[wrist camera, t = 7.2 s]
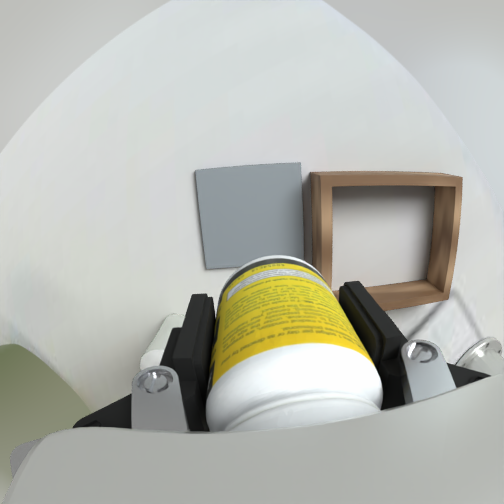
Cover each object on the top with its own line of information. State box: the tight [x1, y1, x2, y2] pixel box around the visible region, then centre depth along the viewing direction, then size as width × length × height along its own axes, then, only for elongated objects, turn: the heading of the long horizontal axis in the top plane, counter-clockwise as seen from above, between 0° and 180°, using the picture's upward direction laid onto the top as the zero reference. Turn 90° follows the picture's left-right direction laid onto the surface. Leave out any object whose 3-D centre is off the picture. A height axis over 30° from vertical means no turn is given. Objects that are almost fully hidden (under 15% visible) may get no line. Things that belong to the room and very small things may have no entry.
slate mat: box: [195, 162, 304, 269], centre depth 30 cm, size 10×10×1 cm
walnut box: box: [310, 171, 463, 311], centre depth 29 cm, size 14×16×4 cm
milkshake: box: [140, 313, 185, 370], centre depth 29 cm, size 5×5×10 cm
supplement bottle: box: [206, 255, 383, 432], centre depth 9 cm, size 5×5×8 cm
